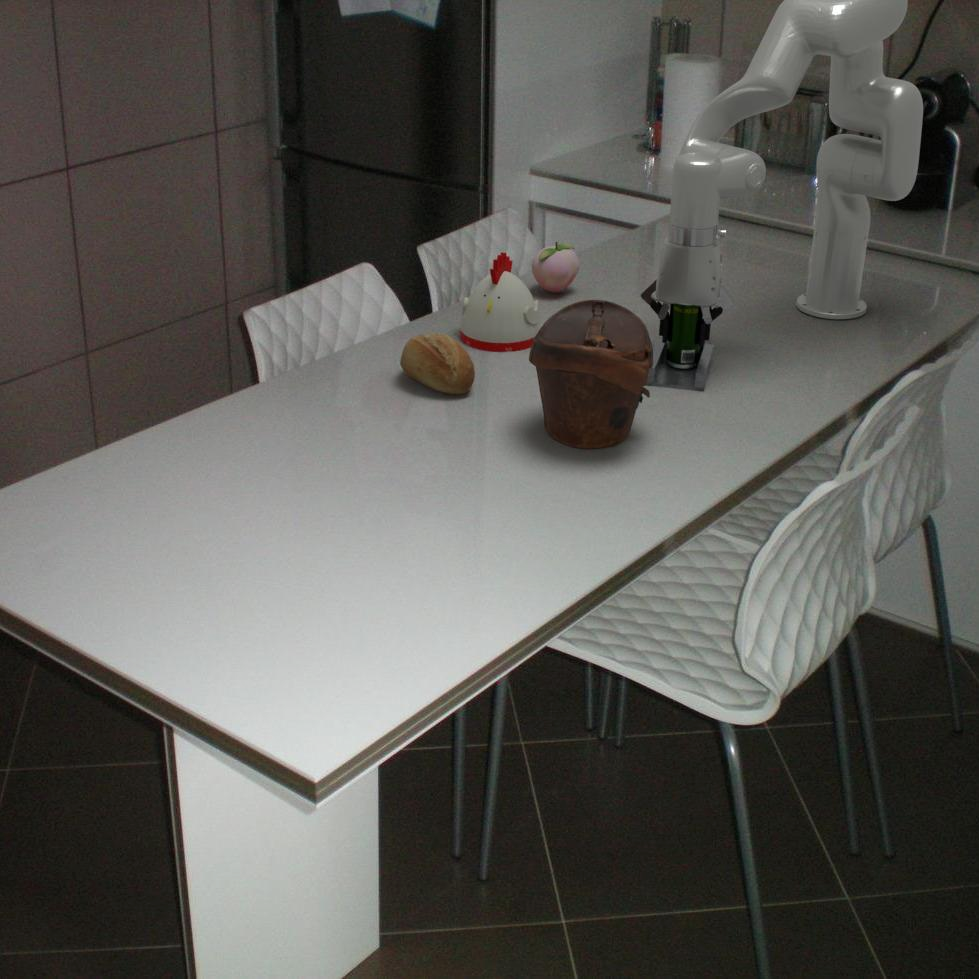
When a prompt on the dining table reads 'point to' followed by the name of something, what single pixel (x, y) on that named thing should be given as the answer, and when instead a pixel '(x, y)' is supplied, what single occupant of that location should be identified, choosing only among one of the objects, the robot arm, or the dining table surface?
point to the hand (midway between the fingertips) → (683, 340)
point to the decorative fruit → (555, 267)
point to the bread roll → (438, 363)
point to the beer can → (684, 335)
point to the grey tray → (680, 369)
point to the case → (591, 372)
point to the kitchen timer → (500, 312)
